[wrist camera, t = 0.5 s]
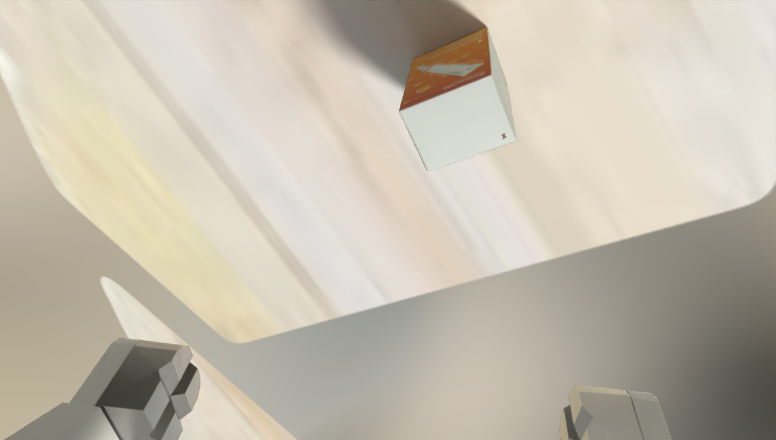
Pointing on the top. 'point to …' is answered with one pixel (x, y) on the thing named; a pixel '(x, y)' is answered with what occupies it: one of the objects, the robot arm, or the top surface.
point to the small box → (457, 102)
